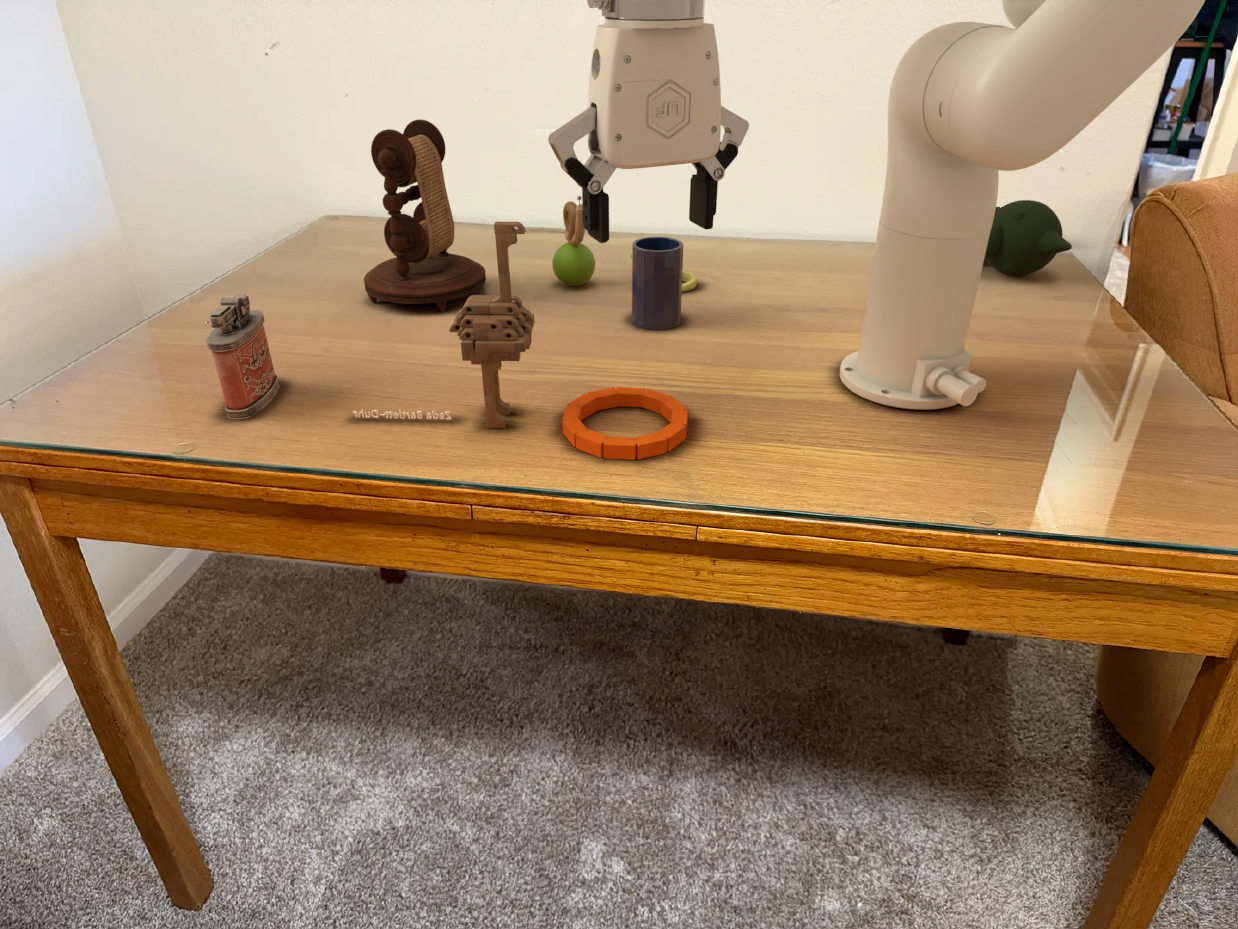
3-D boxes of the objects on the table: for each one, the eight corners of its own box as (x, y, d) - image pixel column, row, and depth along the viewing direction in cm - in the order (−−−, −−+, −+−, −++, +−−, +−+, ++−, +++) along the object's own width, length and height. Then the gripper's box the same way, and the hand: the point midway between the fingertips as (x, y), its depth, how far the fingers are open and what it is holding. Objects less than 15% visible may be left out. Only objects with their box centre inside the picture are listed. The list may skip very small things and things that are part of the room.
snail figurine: (564, 296, 105) (561, 198, 99) (547, 281, 110) (542, 186, 104) (605, 290, 107) (603, 193, 100) (586, 275, 112) (584, 182, 106)
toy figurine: (918, 188, 122) (1014, 207, 100) (1040, 187, 125) (1161, 206, 102) (909, 254, 126) (999, 287, 103) (1028, 252, 128) (1142, 284, 106)
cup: (688, 325, 97) (692, 247, 92) (644, 333, 95) (645, 254, 90) (666, 309, 101) (668, 234, 96) (624, 316, 99) (624, 240, 95)
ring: (709, 443, 74) (710, 428, 73) (592, 470, 70) (592, 456, 69) (653, 391, 82) (653, 378, 81) (546, 413, 78) (546, 400, 78)
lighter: (253, 381, 85) (229, 284, 79) (287, 381, 84) (264, 284, 79) (218, 419, 78) (189, 316, 72) (254, 419, 78) (228, 316, 72)
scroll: (451, 321, 98) (431, 139, 87) (342, 307, 102) (310, 131, 92) (506, 281, 110) (494, 116, 99) (406, 269, 114) (384, 110, 103)
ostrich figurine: (542, 403, 80) (531, 211, 71) (534, 438, 74) (521, 234, 65) (365, 401, 81) (332, 210, 71) (344, 435, 75) (304, 233, 66)
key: (644, 262, 116) (644, 247, 115) (703, 287, 108) (704, 271, 106) (601, 273, 112) (601, 257, 111) (659, 299, 104) (660, 283, 103)
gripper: (563, 9, 57) (571, 257, 66) (780, 3, 63) (761, 231, 72) (528, 4, 63) (540, 232, 72) (730, -2, 69) (717, 210, 78)
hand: (650, 231), depth 72 cm, fingers open, 9 cm apart
